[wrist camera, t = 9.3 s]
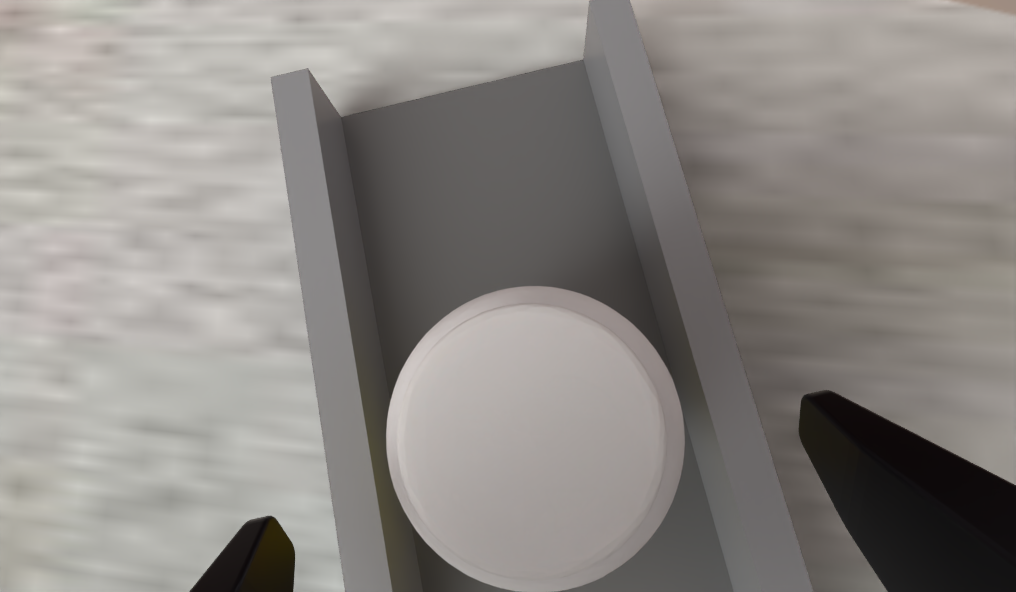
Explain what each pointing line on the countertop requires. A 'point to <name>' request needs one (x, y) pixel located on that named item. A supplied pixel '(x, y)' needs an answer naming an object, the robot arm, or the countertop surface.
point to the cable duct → (515, 263)
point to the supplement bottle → (535, 439)
